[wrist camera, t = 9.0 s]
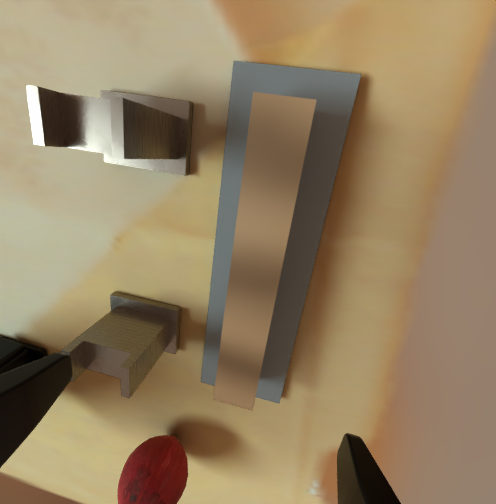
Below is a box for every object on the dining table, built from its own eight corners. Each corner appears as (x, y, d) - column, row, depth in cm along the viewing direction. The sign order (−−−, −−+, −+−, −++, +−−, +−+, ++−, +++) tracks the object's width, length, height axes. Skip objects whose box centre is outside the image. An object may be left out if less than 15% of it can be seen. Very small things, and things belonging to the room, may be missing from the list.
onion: (144, 410, 27) (84, 505, 20) (198, 421, 26) (156, 526, 19) (150, 450, 29) (97, 550, 21) (200, 462, 28) (163, 571, 20)
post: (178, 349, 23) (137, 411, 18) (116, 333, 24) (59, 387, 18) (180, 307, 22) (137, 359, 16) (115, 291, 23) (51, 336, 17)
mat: (279, 397, 23) (279, 403, 22) (203, 376, 24) (200, 381, 23) (358, 77, 15) (361, 74, 14) (236, 64, 16) (233, 60, 15)
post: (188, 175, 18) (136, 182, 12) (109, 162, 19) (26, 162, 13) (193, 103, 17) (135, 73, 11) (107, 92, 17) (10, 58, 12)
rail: (258, 379, 22) (252, 410, 19) (224, 369, 22) (213, 399, 20) (313, 111, 15) (316, 99, 12) (262, 104, 15) (253, 91, 13)
